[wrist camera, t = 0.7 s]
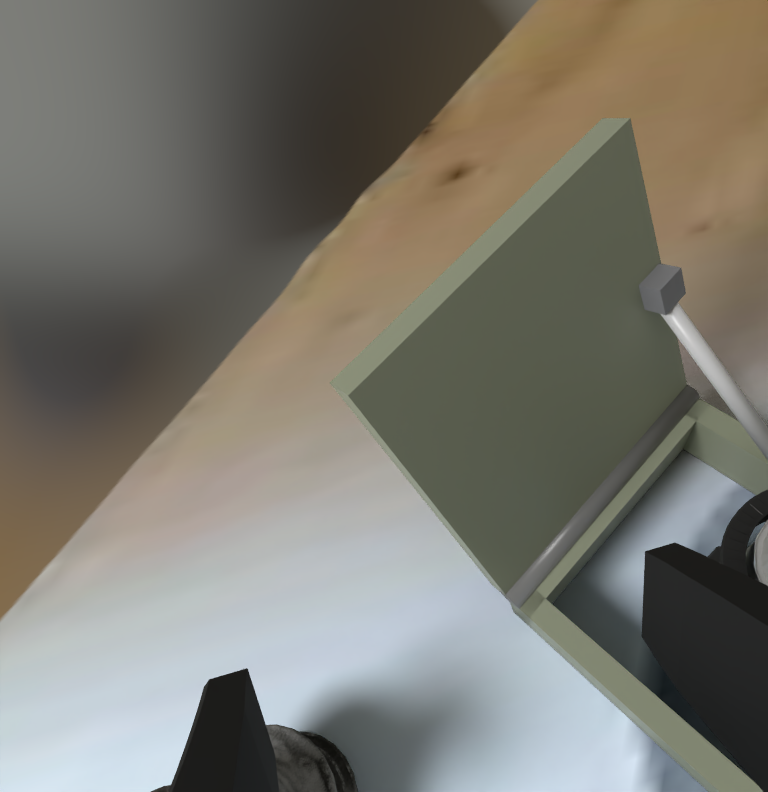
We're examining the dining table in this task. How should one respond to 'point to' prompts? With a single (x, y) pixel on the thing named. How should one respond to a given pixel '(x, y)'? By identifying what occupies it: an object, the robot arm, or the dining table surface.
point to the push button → (746, 540)
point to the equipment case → (558, 404)
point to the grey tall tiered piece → (306, 763)
